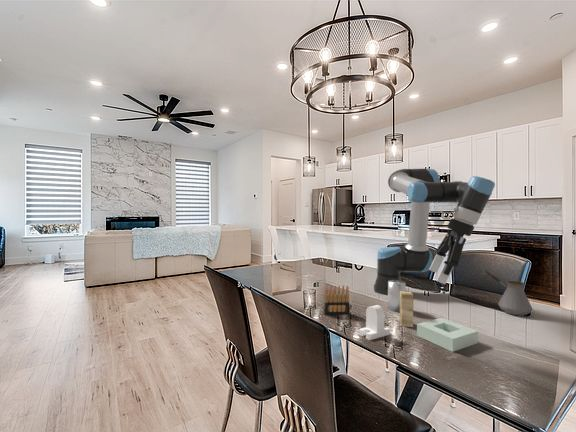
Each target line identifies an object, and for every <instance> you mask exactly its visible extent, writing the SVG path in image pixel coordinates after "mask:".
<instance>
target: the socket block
mask: <svg viewBox="0 0 576 432" xmlns="http://www.w3.org/2000/svg"><path fill="white" fill-rule="evenodd" d="M416 336H417V337H420V338H421V339H424V340H426V341H428V342H430V343H432V344H435V345H437V346H439V347H441V348H444V349H446V350H448V351H450V352H451V353H452V352H453V353H454V352H457V351H459V350H461V349H465V348H468V347H471V346H474V345H476V344H478V343H479V331H478V330H476V329H474V328H470V327H468V326H466V325H463V324H460V323H457V322H454V321H451V320H449V319H446V318H444V317H440V318H436V319H431V320H428V321H427V320H426V321H423V322H420V323H417V324H416Z"/></svg>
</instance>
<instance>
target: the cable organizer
mask: <svg viewBox="0 0 576 432" xmlns="http://www.w3.org/2000/svg"><path fill="white" fill-rule="evenodd" d="M390 331H391V330H390V327H388V326H386V327H385V312H384V309H383V308H382V306H381V305H379V304H376V305H370V306H368V307H367V308H366V311H365V327H362V328H361V327H360V328H359V331H358V332H359V336H361V337H364V336H365V339H366V340H368V341H372V340H375V339H379V338H382V337H386V336H389V335H390Z"/></svg>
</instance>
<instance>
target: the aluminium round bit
mask: <svg viewBox="0 0 576 432" xmlns="http://www.w3.org/2000/svg"><path fill="white" fill-rule="evenodd" d="M400 291H401V292H406V282H405V281H403V280H401V281H400V280H389V281H388V295H387V310H389V311H391V312H395V313H396V312H397V313H400Z"/></svg>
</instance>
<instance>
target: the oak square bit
mask: <svg viewBox="0 0 576 432" xmlns="http://www.w3.org/2000/svg"><path fill="white" fill-rule="evenodd" d="M399 324H400V326H401V327H406V328H407V327H411V328H414V294H413V293H412V291H405V292H401V291H400V312H399Z"/></svg>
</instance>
